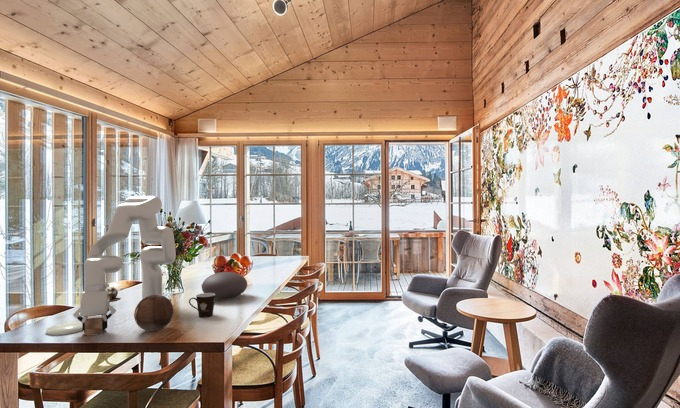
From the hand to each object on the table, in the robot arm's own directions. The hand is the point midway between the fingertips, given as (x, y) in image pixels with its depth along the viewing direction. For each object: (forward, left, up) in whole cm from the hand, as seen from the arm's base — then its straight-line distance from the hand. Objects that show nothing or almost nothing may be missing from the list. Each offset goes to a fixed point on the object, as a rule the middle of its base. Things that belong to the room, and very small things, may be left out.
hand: (95, 330), depth 162 cm
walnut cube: (0, 0, -1) cm, 1 cm away
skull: (+7, -64, -1) cm, 64 cm away
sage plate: (+12, -9, -1) cm, 15 cm away
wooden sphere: (-23, +6, -1) cm, 24 cm away
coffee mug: (-43, -10, -1) cm, 44 cm away
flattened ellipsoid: (-55, -42, -1) cm, 69 cm away
